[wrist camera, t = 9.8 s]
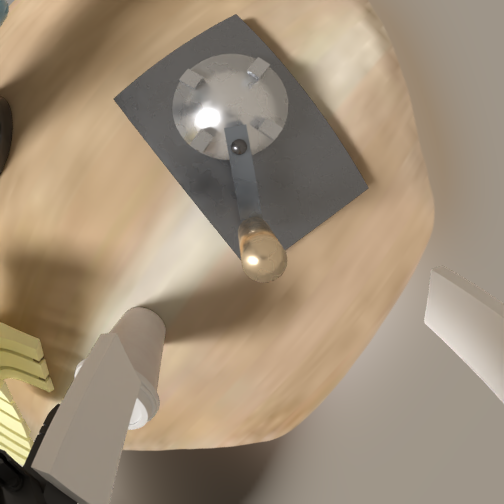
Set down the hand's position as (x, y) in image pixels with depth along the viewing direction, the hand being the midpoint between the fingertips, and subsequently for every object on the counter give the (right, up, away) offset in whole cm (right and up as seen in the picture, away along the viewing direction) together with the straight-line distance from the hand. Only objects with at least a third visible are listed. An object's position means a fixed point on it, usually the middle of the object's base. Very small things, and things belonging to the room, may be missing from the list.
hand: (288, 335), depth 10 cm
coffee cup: (-16, -7, +25) cm, 31 cm away
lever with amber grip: (-3, +14, +17) cm, 22 cm away
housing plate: (-2, +16, +19) cm, 25 cm away
